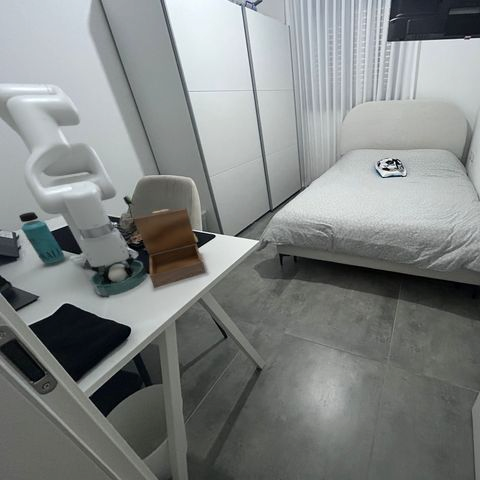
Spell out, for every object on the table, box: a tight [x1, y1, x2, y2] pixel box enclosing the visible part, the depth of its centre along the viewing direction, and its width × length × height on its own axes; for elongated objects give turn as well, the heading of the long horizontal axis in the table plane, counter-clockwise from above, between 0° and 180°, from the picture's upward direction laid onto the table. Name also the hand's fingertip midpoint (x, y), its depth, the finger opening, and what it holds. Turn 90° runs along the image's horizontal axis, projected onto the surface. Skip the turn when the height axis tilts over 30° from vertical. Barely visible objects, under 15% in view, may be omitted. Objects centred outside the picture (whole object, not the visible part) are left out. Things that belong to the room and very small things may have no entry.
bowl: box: [89, 259, 148, 297], centre depth 85 cm, size 14×14×4 cm
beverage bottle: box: [18, 211, 65, 264], centre depth 93 cm, size 6×7×20 cm
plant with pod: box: [119, 195, 142, 245], centre depth 108 cm, size 8×11×20 cm
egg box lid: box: [133, 207, 197, 256], centre depth 91 cm, size 15×16×5 cm
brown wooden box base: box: [148, 243, 207, 289], centre depth 91 cm, size 15×16×5 cm
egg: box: [108, 264, 128, 283], centre depth 84 cm, size 7×5×5 cm
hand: (120, 277), depth 86 cm, fingers closed on egg, 4 cm apart
